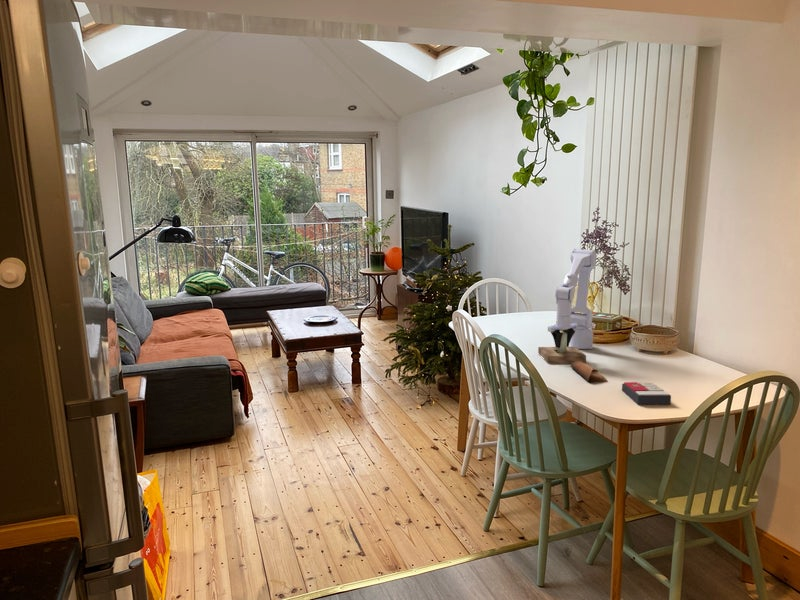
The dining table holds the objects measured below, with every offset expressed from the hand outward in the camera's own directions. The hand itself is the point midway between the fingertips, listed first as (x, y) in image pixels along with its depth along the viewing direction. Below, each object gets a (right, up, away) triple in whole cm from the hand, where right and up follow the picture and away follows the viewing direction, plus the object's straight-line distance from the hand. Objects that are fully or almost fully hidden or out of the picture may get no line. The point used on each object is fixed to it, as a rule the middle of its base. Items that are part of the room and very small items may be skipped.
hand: (562, 346), depth 255 cm
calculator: (+17, -15, -45) cm, 50 cm away
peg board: (0, -5, +1) cm, 5 cm away
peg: (0, -2, 0) cm, 2 cm away
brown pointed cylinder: (+5, -10, -21) cm, 24 cm away
